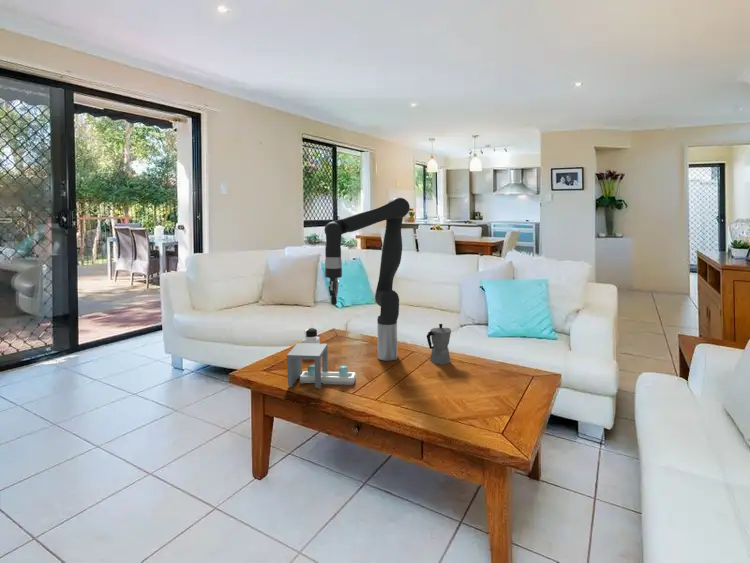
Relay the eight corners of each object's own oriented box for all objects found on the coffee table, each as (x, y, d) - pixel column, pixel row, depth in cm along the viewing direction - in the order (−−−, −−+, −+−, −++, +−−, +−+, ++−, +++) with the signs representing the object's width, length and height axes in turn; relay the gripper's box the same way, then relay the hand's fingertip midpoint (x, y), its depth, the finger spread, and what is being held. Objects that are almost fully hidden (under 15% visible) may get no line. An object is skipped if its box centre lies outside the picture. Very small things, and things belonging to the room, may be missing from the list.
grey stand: (328, 373, 193) (327, 343, 191) (320, 388, 177) (319, 355, 175) (298, 373, 194) (297, 343, 192) (288, 387, 179) (286, 355, 176)
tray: (355, 379, 187) (355, 364, 186) (353, 384, 181) (353, 370, 180) (303, 377, 189) (302, 363, 188) (299, 383, 183) (299, 368, 182)
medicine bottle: (320, 350, 225) (319, 327, 223) (316, 355, 218) (316, 331, 216) (306, 350, 226) (305, 327, 224) (302, 354, 219) (301, 330, 217)
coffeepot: (442, 356, 216) (442, 319, 213) (457, 361, 208) (458, 323, 206) (419, 363, 206) (419, 325, 203) (434, 368, 199) (435, 329, 196)
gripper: (339, 268, 196) (339, 307, 198) (343, 265, 209) (344, 301, 211) (322, 268, 196) (323, 307, 199) (328, 264, 209) (328, 301, 212)
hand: (334, 304), depth 205 cm, fingers closed
